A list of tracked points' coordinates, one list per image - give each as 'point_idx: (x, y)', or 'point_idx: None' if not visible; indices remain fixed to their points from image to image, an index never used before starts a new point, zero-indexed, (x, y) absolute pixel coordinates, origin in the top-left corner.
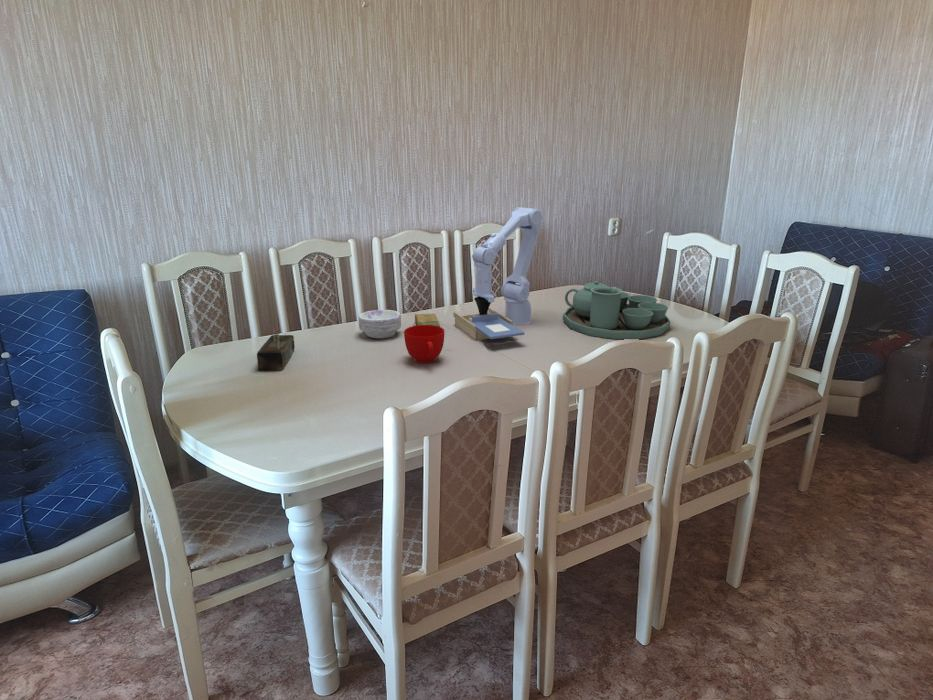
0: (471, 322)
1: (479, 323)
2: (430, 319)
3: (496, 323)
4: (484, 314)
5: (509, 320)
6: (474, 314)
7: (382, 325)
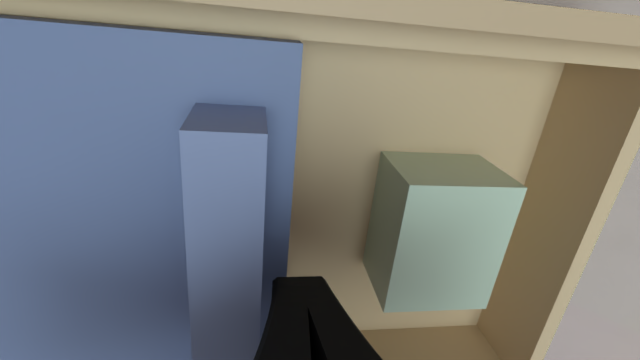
0: (203, 71)
1: (98, 162)
2: None
3: (31, 353)
4: (258, 345)
5: None
6: (565, 279)
7: None
